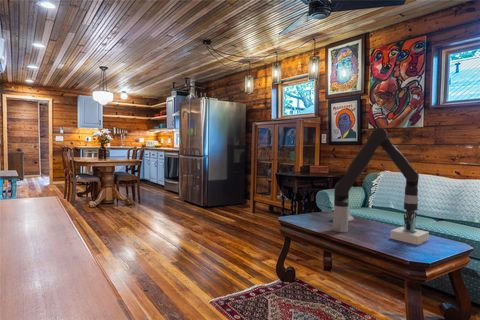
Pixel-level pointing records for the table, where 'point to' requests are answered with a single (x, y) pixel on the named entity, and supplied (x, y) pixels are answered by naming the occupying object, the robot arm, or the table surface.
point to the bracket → (411, 226)
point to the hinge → (350, 216)
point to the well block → (409, 236)
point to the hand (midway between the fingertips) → (409, 229)
